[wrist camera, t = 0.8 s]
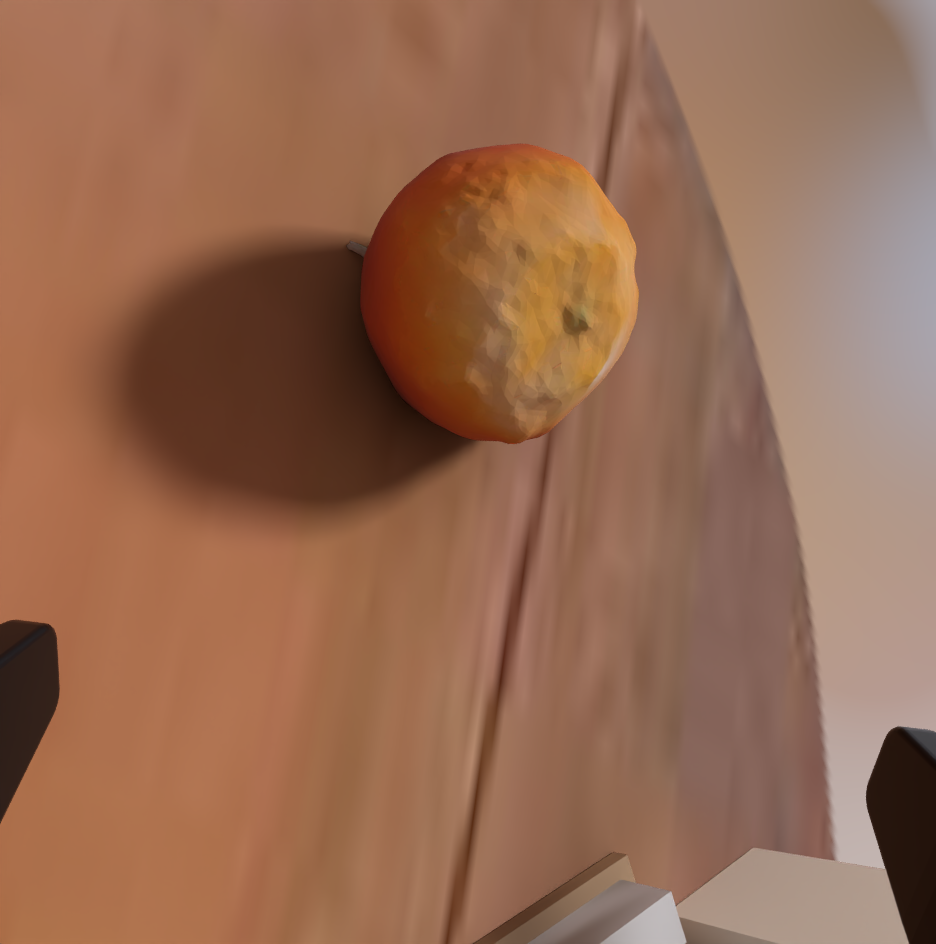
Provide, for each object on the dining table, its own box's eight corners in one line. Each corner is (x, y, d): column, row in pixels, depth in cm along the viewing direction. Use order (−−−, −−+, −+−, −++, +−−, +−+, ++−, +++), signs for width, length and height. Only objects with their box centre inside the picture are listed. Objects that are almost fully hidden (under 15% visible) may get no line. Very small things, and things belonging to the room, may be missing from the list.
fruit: (493, 137, 28) (696, 140, 22) (494, 370, 31) (673, 426, 25) (270, 147, 23) (456, 155, 17) (298, 422, 26) (464, 504, 21)
